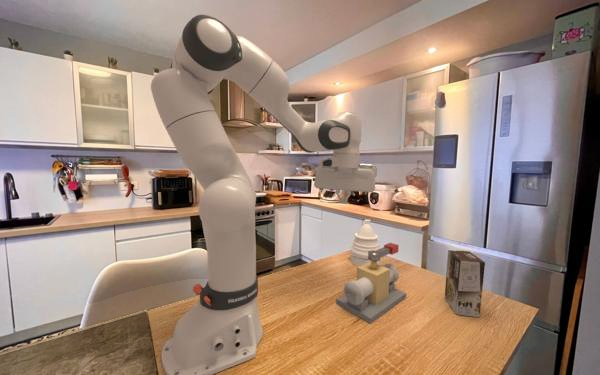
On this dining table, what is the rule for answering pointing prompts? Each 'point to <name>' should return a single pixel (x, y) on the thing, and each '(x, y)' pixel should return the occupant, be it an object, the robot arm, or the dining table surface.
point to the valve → (371, 291)
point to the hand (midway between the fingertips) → (342, 203)
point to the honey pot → (364, 245)
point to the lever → (383, 252)
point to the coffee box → (464, 282)
